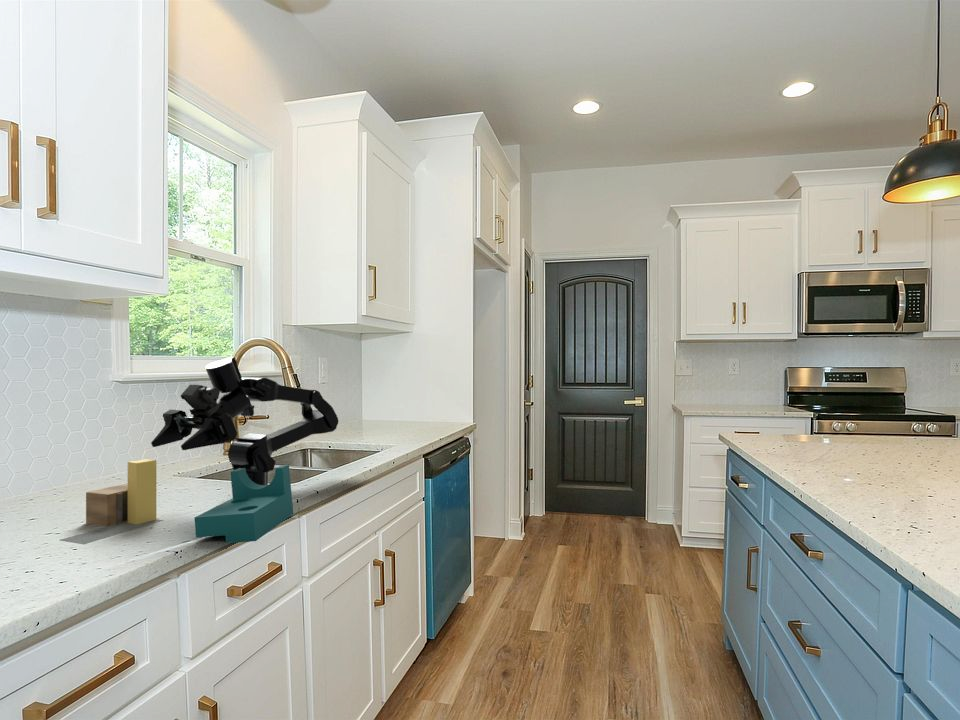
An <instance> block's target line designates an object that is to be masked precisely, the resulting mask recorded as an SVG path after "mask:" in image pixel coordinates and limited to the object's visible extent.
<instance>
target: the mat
mask: <svg viewBox="0 0 960 720" xmlns="http://www.w3.org/2000/svg"><path fill="white" fill-rule="evenodd" d="M163 521H164V519H157V518H156V520H153V521H149V522H145V523H141V524H137V525H136V524H132V523H128V521H125V522H122V523H121V524H114V525H111V526H103V527H100V528H97V529H94V530H89V531H86V532H82V533H79V534H74V535H72V536H71V535H70V536H69V537H64V538H61V539H60V541H62V542H68V543H74V544H81V545H87V544H89V543H92V542H96V541H99V540H103V539H106V538H109V537H112V536H116V535H119V534H123V533H126V532H130V531H132V530H137V529H140V528H143V527H146V526H150V525H153V524H156V523H161V522H163Z"/></svg>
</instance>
